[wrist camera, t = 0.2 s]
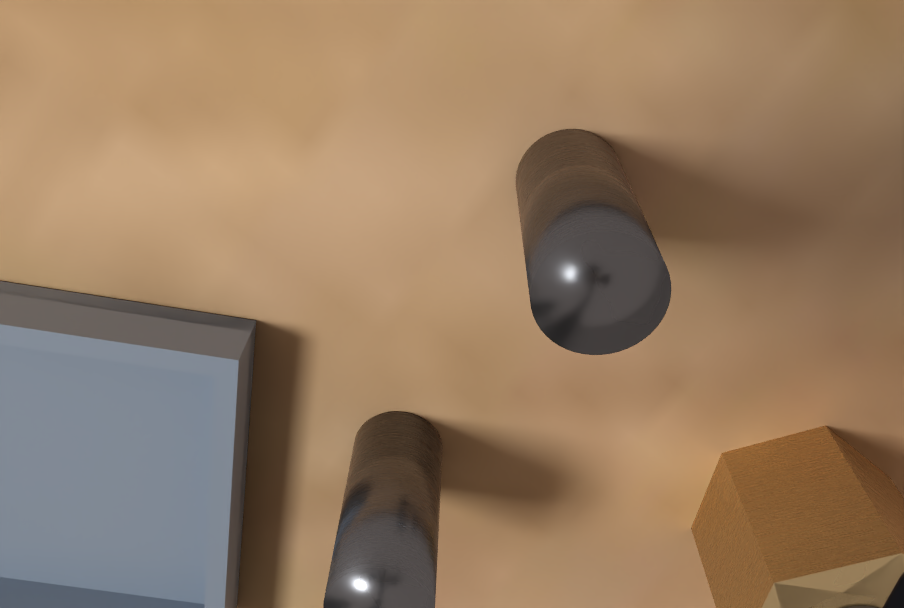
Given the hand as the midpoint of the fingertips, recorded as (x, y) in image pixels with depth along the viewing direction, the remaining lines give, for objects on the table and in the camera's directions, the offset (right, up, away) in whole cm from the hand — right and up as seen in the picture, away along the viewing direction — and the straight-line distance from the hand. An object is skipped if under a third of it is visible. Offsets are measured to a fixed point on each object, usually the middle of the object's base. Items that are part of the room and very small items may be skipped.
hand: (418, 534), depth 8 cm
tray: (-11, -2, +18) cm, 21 cm away
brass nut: (+11, -4, +18) cm, 21 cm away
